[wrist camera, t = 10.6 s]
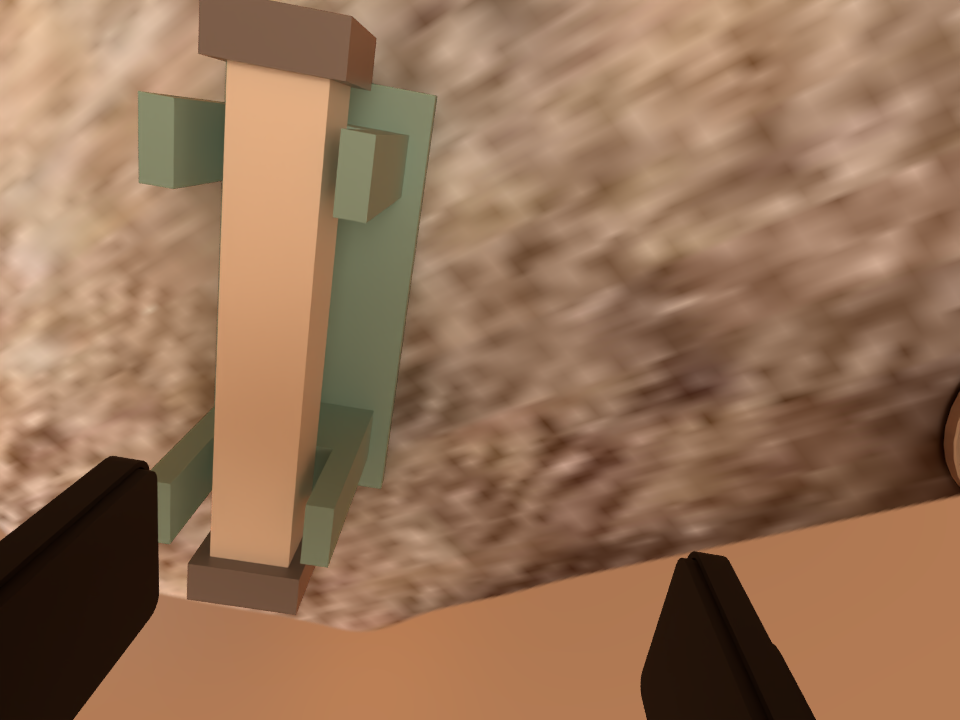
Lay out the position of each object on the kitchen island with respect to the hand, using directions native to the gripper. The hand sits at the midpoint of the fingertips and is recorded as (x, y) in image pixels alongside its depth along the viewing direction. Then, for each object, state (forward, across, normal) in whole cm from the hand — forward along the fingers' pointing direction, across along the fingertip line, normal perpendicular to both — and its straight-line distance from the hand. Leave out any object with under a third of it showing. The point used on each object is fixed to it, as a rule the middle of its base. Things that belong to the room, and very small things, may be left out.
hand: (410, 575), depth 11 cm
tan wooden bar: (+19, +8, +2) cm, 21 cm away
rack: (+24, +9, +2) cm, 26 cm away
